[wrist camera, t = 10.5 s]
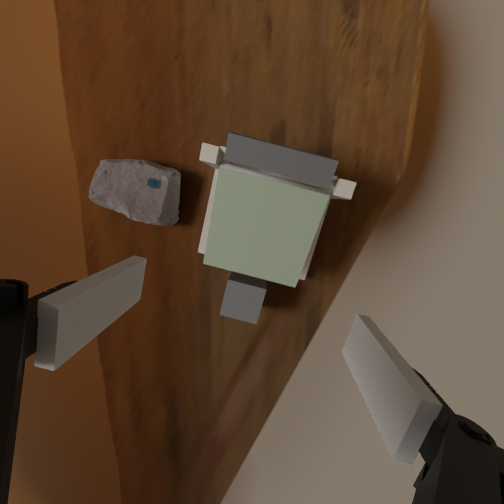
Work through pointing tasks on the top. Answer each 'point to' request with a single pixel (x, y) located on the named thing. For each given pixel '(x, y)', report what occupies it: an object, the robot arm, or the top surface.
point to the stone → (138, 190)
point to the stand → (216, 156)
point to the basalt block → (243, 297)
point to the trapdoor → (266, 209)
